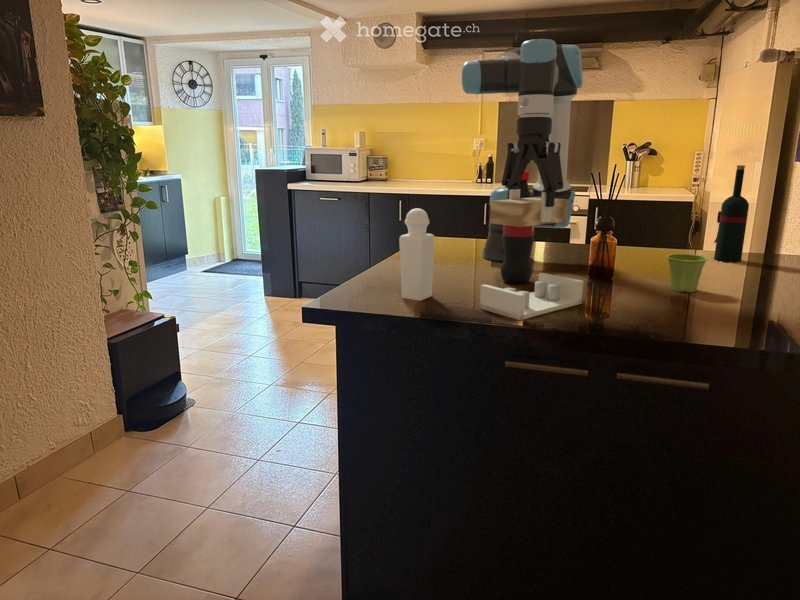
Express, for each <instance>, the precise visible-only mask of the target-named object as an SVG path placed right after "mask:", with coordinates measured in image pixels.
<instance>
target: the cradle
mask: <svg viewBox="0 0 800 600" xmlns="http://www.w3.org/2000/svg"><path fill="white" fill-rule="evenodd" d="M583 289H584V280H580V279H575V278H571V277H566V276H562V275H557V274H556V275H555V274H551V273H547V272H539V273H538V280H536V281H535V282H534V291H532V292H530V291H526V290H519V291H517V289H516V288H514V287H504V288H501V287H497V286H494V285H489V284H486V283H485V284H481V285H480V292H479V294H480V295H479V296H480V297H479V309H481V310H484V311H488V312H491V313H494V314H497V315H499V316H500V315H501V316H503V317H504V316H505V317H507V318H511V319H515V320H518V321H522V320H526V319H529V318H532V317H533V318H534V317H536V316H541V315H544V314H548V313H551V312H555V311H558V310H559V311H560V310H563V309H566V308H569V307H573V306H577V305H580V304H581V305H582V302H583V292H584V291H583Z"/></svg>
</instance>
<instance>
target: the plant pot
mask: <svg viewBox="0 0 800 600" xmlns="http://www.w3.org/2000/svg"><path fill="white" fill-rule="evenodd" d="M666 258H667V263H668V265H669V266H668V267H669V287H670V290H672V291H675V292H678V293H679V292H680V293H681V292H686V293H692V292H693V293H694V292H696V291H697V289H698V285H699V283H700V282H699V281H700V278H701V275H702V271H703V267H704V266H705V265H706V262H707V260H708V257H706V256H703V255H699V254H693V253H692V254H691V253H690V254H689V253H671V254H667V255H666Z"/></svg>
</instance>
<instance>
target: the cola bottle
mask: <svg viewBox="0 0 800 600" xmlns="http://www.w3.org/2000/svg"><path fill="white" fill-rule="evenodd" d="M529 178H530V172H529V171H528V170H525V171H524V174H523V176H522V178H521V181H520V183H519V185H518V186H519V187H520V188H519V189H520V198H531V197H532V196H531V193H530V191H531V190H530V188H529V184H528V183H529V182H528V181H529V180H530V179H529ZM507 199H508V198H507ZM534 233H535V227H534V225H533V226H525V227H516V226H508V225H503V235H502V239H503V248H504V261H502V264H501V268H500V274H501V275H500V276H501V279H502V280H503V282H505V283H508V284H511V285H512V284H513V285H521V284H522V285H523V284H527V283H528V282H529V281H530V280H531V278H532V275H533V265H532V262H531V255H532V250H533V245H534V241H535V235H534Z"/></svg>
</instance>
